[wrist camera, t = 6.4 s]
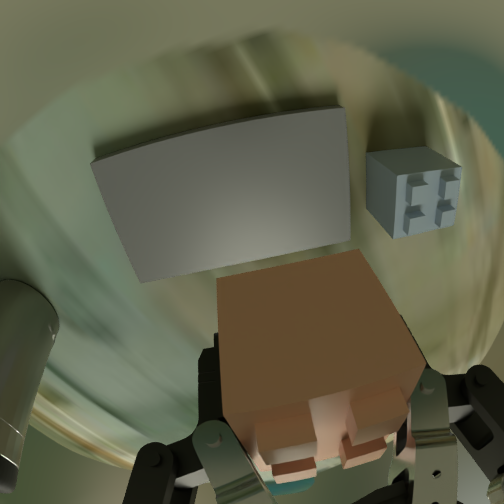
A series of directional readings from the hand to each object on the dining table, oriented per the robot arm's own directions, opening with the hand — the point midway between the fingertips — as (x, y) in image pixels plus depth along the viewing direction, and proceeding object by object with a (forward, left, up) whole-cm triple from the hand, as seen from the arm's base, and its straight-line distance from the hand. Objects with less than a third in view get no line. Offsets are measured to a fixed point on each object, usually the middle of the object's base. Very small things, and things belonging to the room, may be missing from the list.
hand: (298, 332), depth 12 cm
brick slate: (+10, +6, -14) cm, 18 cm away
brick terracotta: (0, 0, 0) cm, 0 cm away
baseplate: (-2, -1, -14) cm, 14 cm away
